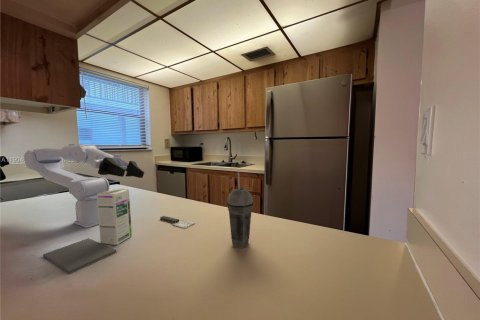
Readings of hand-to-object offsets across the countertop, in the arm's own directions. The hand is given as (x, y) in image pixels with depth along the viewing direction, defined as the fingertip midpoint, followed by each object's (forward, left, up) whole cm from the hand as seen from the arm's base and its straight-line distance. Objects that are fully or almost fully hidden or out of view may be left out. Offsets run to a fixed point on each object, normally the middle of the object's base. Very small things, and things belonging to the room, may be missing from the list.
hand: (133, 174), depth 65 cm
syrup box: (+1, -7, -19) cm, 20 cm away
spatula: (+6, +11, -18) cm, 22 cm away
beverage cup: (+34, +8, -19) cm, 40 cm away
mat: (+1, -16, -18) cm, 24 cm away
